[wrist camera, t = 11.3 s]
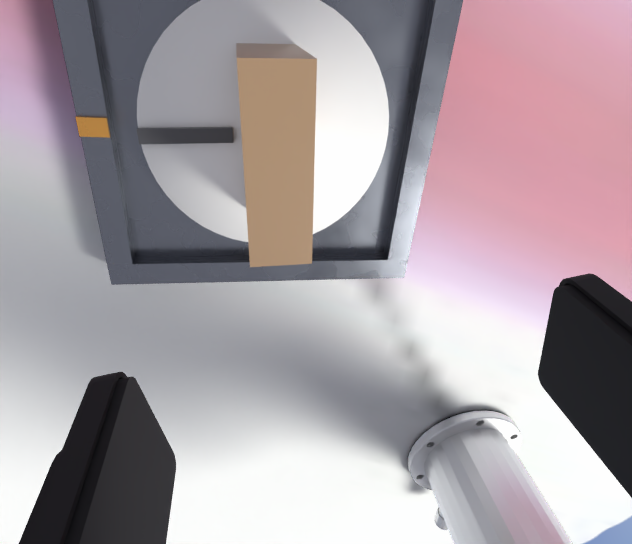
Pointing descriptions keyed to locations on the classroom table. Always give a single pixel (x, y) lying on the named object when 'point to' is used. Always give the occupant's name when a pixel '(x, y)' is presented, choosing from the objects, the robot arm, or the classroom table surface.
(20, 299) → the classroom table surface
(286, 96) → the dial
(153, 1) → the dial housing
